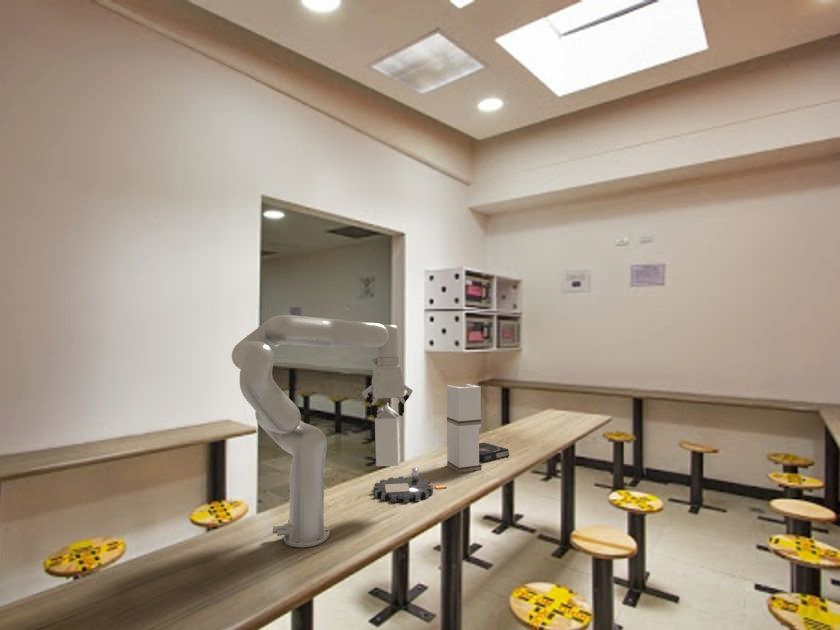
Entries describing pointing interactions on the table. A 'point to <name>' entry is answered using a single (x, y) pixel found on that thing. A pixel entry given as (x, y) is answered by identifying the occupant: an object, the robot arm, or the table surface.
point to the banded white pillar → (463, 427)
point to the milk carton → (387, 437)
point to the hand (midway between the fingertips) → (387, 416)
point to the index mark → (440, 487)
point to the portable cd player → (491, 452)
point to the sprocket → (403, 488)
